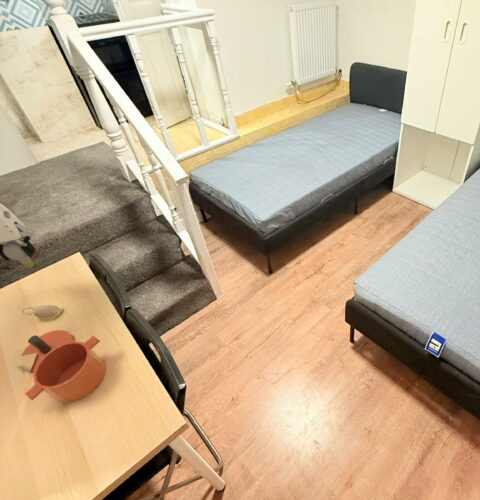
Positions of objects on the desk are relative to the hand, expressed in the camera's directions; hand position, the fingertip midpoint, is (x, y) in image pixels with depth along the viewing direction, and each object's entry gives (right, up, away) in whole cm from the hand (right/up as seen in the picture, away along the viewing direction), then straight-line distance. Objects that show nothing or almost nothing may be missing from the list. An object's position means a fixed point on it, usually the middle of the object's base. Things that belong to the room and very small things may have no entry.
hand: (20, 255), depth 98 cm
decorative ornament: (+3, -19, +6) cm, 20 cm away
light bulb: (0, -4, +4) cm, 5 cm away
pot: (+24, -33, -9) cm, 42 cm away
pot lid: (+11, -27, -4) cm, 30 cm away
